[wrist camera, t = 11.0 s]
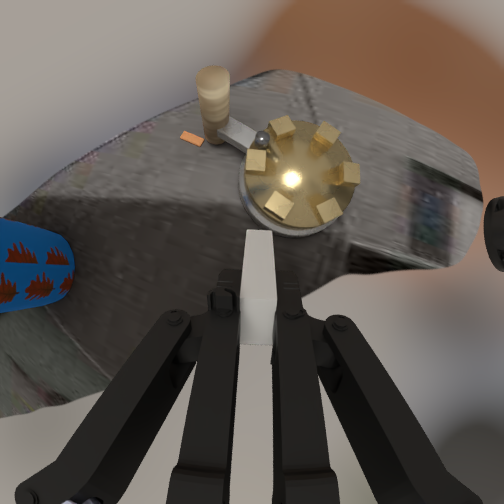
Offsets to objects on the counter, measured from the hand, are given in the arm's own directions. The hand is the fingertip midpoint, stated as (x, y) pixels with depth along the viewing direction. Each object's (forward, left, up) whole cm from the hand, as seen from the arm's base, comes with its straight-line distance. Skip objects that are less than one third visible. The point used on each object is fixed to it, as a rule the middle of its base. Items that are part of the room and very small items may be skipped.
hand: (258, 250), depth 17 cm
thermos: (+29, +2, -19) cm, 35 cm away
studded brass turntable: (-3, -12, -17) cm, 21 cm away
